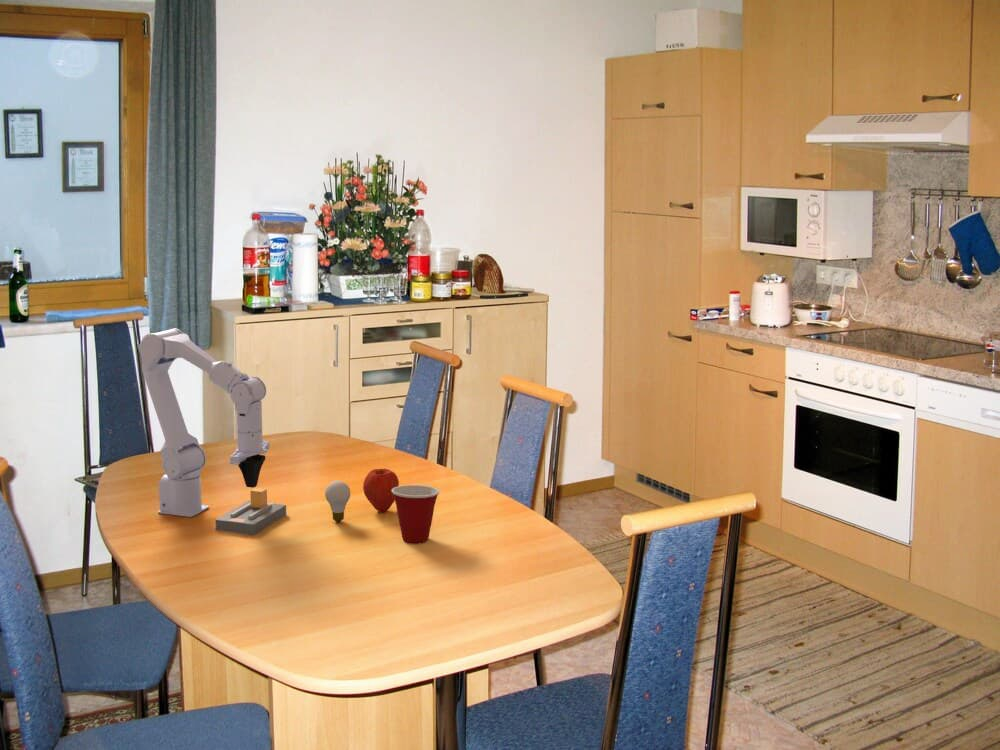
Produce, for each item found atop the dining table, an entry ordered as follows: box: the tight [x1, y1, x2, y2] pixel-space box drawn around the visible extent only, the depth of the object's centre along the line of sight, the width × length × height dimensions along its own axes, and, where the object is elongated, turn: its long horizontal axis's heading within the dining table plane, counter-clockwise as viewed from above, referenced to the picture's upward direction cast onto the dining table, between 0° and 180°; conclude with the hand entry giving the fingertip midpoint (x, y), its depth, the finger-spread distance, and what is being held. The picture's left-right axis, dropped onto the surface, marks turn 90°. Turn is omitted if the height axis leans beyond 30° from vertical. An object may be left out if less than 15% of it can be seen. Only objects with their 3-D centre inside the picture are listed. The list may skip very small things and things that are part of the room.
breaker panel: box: [215, 500, 287, 536], centre depth 262 cm, size 10×15×3 cm, turn 162°
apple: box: [362, 468, 400, 513], centre depth 270 cm, size 9×8×11 cm
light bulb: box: [324, 480, 351, 523], centre depth 262 cm, size 6×6×10 cm
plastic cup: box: [391, 484, 441, 545], centre depth 251 cm, size 11×11×12 cm
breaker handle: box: [249, 487, 268, 508], centre depth 264 cm, size 3×2×4 cm
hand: (251, 486), depth 261 cm, fingers closed
